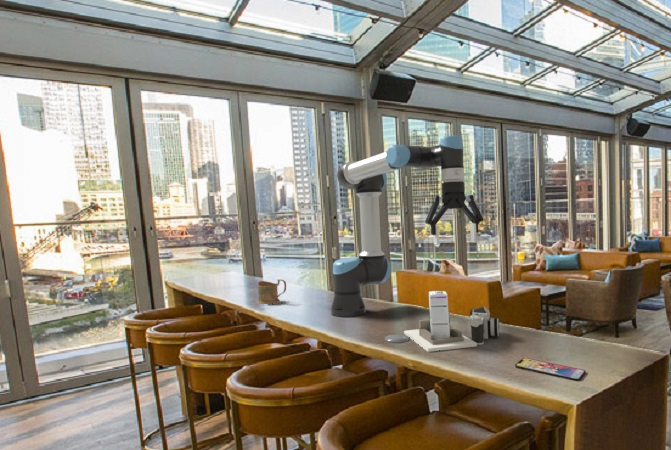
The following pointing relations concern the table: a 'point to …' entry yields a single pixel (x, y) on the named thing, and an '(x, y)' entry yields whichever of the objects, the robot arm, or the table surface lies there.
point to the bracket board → (432, 344)
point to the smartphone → (551, 369)
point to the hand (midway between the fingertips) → (455, 243)
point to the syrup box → (439, 314)
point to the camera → (483, 325)
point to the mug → (269, 292)
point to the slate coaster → (396, 338)
